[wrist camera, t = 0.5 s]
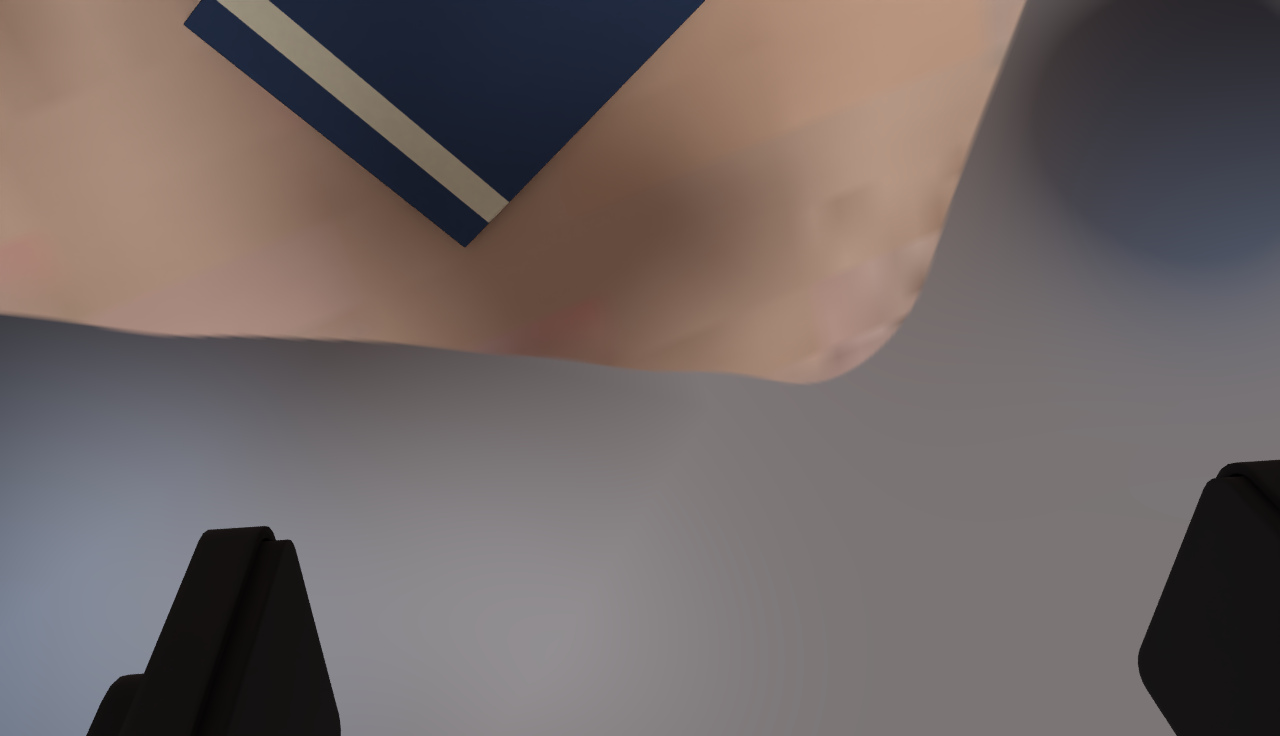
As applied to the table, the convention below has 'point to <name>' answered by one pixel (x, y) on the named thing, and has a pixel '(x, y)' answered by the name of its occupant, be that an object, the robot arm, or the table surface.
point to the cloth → (443, 83)
